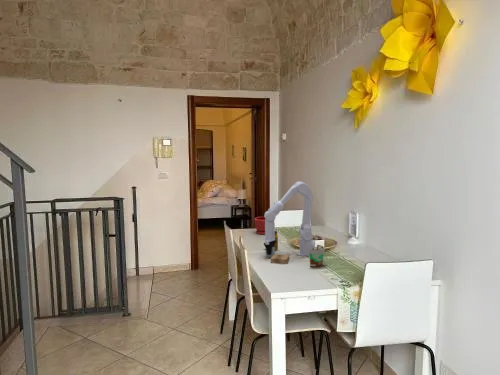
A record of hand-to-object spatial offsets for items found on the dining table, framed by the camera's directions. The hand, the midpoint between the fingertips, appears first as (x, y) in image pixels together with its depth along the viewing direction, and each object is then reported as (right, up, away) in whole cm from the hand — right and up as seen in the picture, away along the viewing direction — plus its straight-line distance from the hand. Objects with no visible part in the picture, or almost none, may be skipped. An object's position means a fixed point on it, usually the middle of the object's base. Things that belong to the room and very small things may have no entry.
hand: (270, 253), depth 219 cm
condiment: (+2, 0, +13) cm, 13 cm away
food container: (+25, -3, -20) cm, 32 cm away
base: (+5, -2, -11) cm, 12 cm away
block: (0, -1, 0) cm, 1 cm away
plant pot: (-2, +4, +60) cm, 60 cm away
